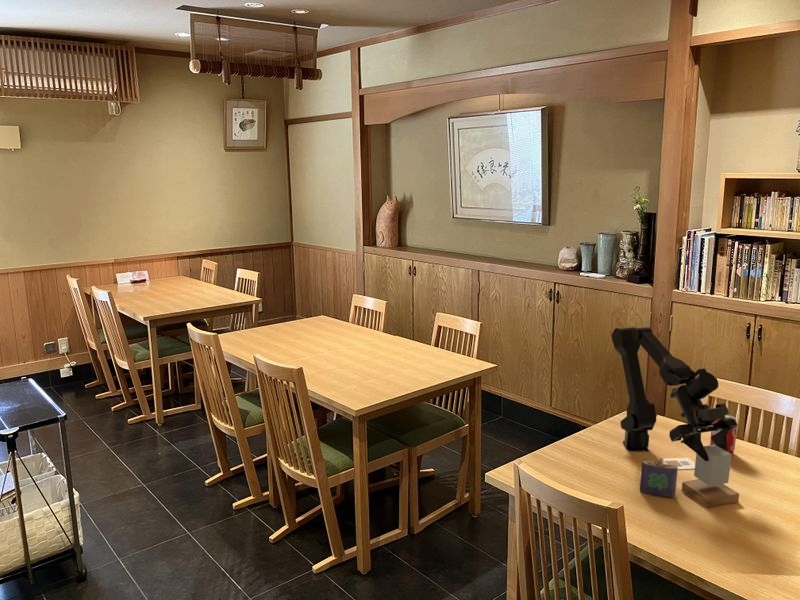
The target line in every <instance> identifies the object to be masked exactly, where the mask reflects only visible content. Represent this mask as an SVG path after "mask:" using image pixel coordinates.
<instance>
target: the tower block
mask: <svg viewBox="0 0 800 600" xmlns="http://www.w3.org/2000/svg"><path fill="white" fill-rule="evenodd" d="M703 446H704V448H705V450H706V453H707V455H708V458H709V461H705V460H704V459H702V458H701V457H700V456H699V455H698V454H697V453H696V452H695V453H696V454H695V462H694V463H695V469H694V471H693V477H695V478H697V479H700V480H701V481H703V482H704V483H706V484H707V485H709V486H714V485H720V484H724V485H726V484H728V483H729V480H730V470H731V463H732V455H733V454H731V453H729V452H727V451H726V450H724V449H722V448H720V447H718V446H717V445H710V444H709V445H703Z"/></svg>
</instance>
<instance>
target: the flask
mask: <svg viewBox="0 0 800 600" xmlns="http://www.w3.org/2000/svg"><path fill="white" fill-rule="evenodd" d="M657 459H658V460H657V461H651V460H643V461H641V469H640V482H639V492H640V494H643V495H647V496H651V497H658V498H664V499H674V498H675V497H676V494H677V493H676V491H677V481H678V479H677V478H678V467H677V466H675V465H667V464H663V463H662V462H663V459H664V458H661V457H660V458H657Z"/></svg>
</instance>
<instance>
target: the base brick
mask: <svg viewBox="0 0 800 600" xmlns="http://www.w3.org/2000/svg"><path fill="white" fill-rule="evenodd" d="M681 483H682V484H681V491H682V492H683V493H685V494H686V495H687V496H689V497H690V498H691V499H693V500H695V501H697V502H698V503H700V505H702V506H704V507H705V508H707V509H712V508H717V507H721V506H727V505H732V504H736V503H739V500H740V499H739V498H740V493H739V492H738V491H736V490H734V489H732V488H731V487H730V486H728V485H726V484H720V485H714V486H709V485H707V484H706V483H704V482H703V481H701V480H700V479H698V478H697V479H696V478H695V479H692V480H685V481H682V482H681Z"/></svg>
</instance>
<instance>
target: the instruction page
mask: <svg viewBox="0 0 800 600" xmlns="http://www.w3.org/2000/svg"><path fill="white" fill-rule="evenodd" d="M658 459H659V458H657V461H658ZM662 459H663V462H662V463H663V464H667V465H675V466H677V467H678V470H695V462H694V461H693V460H692V459H691V458H690V457H675V458H674V457H673V458H671V457H668V458H662Z"/></svg>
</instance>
